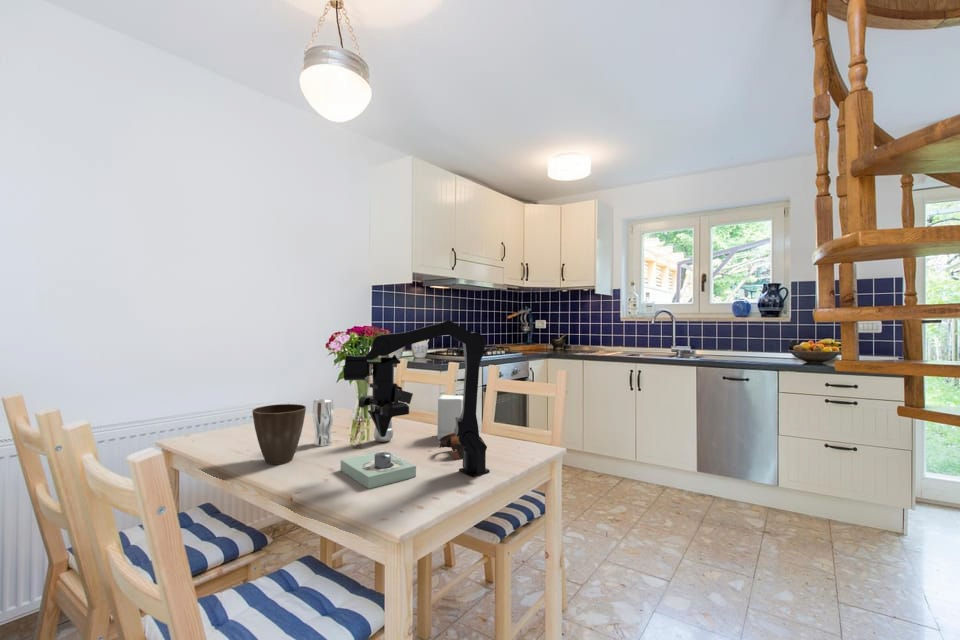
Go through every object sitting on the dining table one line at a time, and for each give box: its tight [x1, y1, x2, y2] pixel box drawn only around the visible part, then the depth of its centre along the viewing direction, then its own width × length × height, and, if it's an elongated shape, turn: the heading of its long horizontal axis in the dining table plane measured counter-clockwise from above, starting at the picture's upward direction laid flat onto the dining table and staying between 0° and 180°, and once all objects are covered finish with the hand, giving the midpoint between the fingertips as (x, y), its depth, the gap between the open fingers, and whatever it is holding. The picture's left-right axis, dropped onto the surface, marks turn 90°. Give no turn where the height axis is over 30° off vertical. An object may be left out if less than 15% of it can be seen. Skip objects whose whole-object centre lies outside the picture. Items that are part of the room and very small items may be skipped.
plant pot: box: [251, 403, 307, 465], centre depth 134 cm, size 15×15×16 cm
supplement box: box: [437, 394, 463, 441], centre depth 162 cm, size 9×9×15 cm
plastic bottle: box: [373, 417, 394, 443], centre depth 156 cm, size 6×7×20 cm
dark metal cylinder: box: [375, 451, 392, 469], centre depth 121 cm, size 4×4×6 cm
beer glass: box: [311, 398, 335, 447], centre depth 153 cm, size 7×7×15 cm
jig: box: [340, 450, 417, 490], centre depth 123 cm, size 18×14×3 cm
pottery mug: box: [439, 433, 466, 460], centre depth 142 cm, size 12×10×8 cm
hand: (382, 436), depth 121 cm, fingers closed
